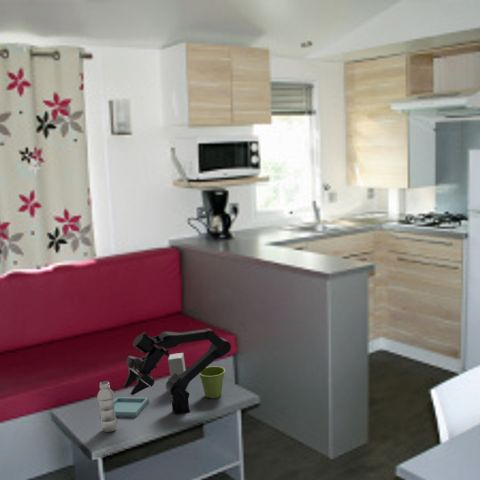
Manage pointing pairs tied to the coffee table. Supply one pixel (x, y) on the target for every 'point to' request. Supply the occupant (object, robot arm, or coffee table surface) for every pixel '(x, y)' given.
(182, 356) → the skincare box
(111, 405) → the plastic bottle
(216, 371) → the plant pot
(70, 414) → the coffee table surface
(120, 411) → the tray
